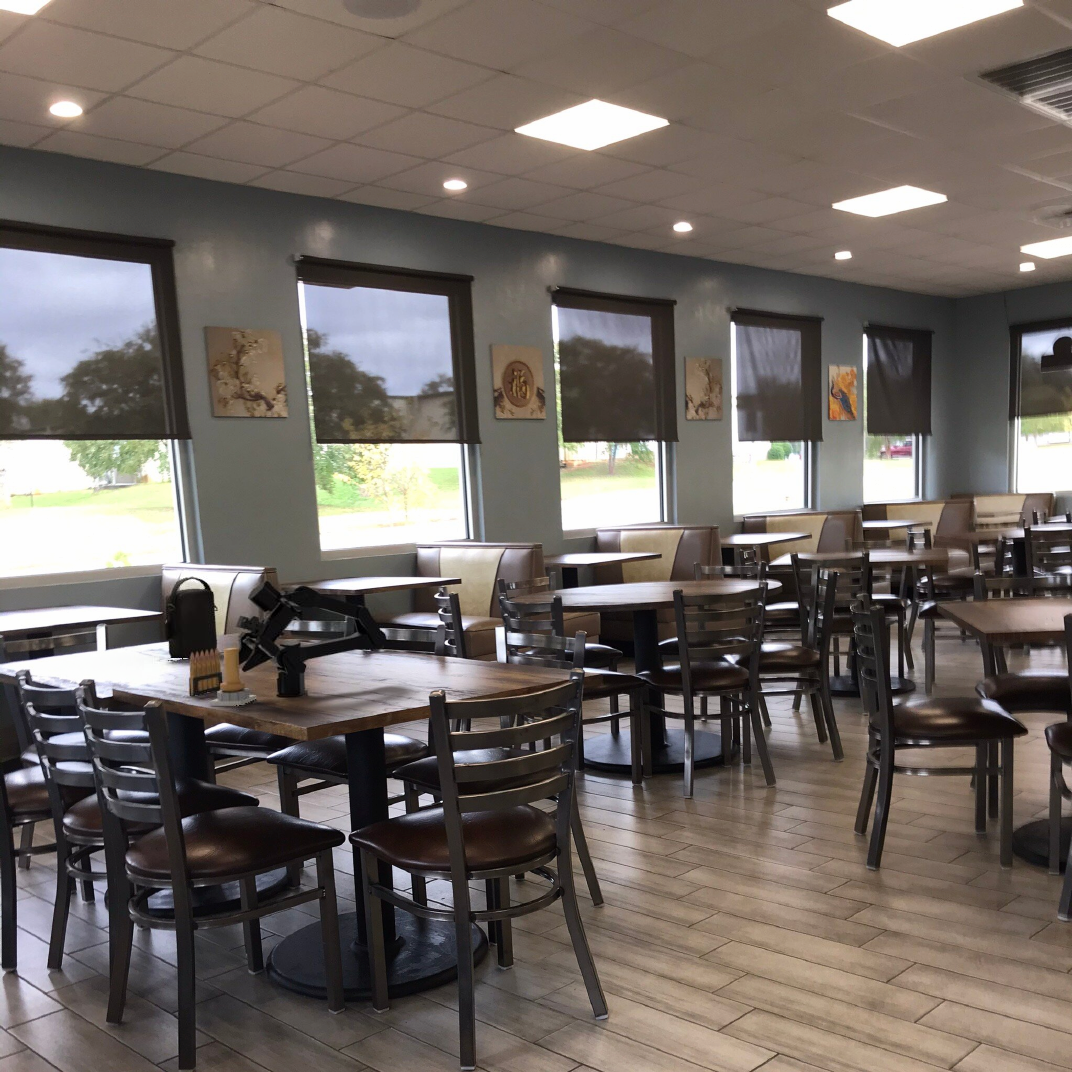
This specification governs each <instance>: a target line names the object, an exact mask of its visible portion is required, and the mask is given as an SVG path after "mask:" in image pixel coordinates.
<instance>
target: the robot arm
mask: <svg viewBox="0 0 1072 1072" xmlns="http://www.w3.org/2000/svg"><path fill="white" fill-rule="evenodd" d="M247 598H248V600H249V601H250V602H251V603H252V604H254V605H255V606H256V607H257V608H259V610H261V611H262V612H263V613H266V612H269V615H268V616H267V617H266V618H263V619H262V618H261V620H260V617H258V616H256V615H251V616H250V617H247V616H245V615H239V617H238V620H237V622H236V625H235V627H237V628H238V629H239V628H240V629H243V630H244V631H241V633H240V634H239V635H238V636H237V638H238V639H237V641H238V646H239V647H238V654H239V666H240V665H242V664H243V666H242V668H241V671H242V672H243V673H246V672H249V671H250V670H252V669H254V668H256V667H258V666H260V665H262V664H263V663H266V662H268V661H270V662H271V664H272V665H274V666H275V667H276V669H277V670H276V671H278V672H277V678H276V690H277V693H276V697H300V696H302V695H305V694H307V693H308V690H306V684H305V683H306V682H305V680H306V679H305V672H306V669H307V664H306V663H305V662H307V661H309V660H312V659H318V658H322V657H327V656H332V655H337V654H342V653H347V652H351V651H379V650H382V649H384V647H385V646H386V644H387V635H386V633H385V631H383V630H382V629H381V628H380V626H379V623H377V622H376V620H375V619H374V617H373V616H372V615H371V614H372V613H370V611H369V609H368V607H366V606H363V605H357V604H353V603H350V602H346V601H342V600H340V599H336V598H332V597H330V596H326V595H324V594H322V593H321V592H318V591H317V590H315V589H313V588H311V587H309V586H307V585H301V584H293V585H291V586H290V587H289V588H288V589H287V590H283V591H278V590H277V589H276V588H275V587H274V586H273V585H272V583H271V582H270V581H269V580H263V582H262V583H260V584H259V585H257V586H256V587H254V588H253V589H252V590H251V591H250V593H249V594H248V597H247ZM284 601H286V602H287V603H289V604H286V603H284ZM294 606H296V607H302V608H310V609H311V608H312V609H321V610H324V611H327V612H330V613H331V612H332V613H335V614H338V615H341V616H346V617H349V618H352V619H353V622H354V625H355V629H356V632H354V633H353V634H351V635H349V636H344V637H340V638H339V637H338V638H334V639H327V640H324V641H323V640H322V641H319V642H314V643H309V644H303V645H302V644H301V642H300V641H296V640H289V641H287V642H278V645H277V644H276V643H275V642H276V641H277V640H278V639H279V637H283V636H284V635H285V633H284V631H285V630H286V629H287V628H288V627H289V626H290V624H291V623H292V622H293V621H294V619H295V620H297V621H301V622H303V621H304V616H303V612H304V611H303V610H300V609H299V610H297V609H296V608H295V607H294ZM245 630H246V631H245ZM306 692H307V693H306Z"/></svg>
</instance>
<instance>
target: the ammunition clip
mask: <svg viewBox="0 0 1072 1072" xmlns="http://www.w3.org/2000/svg"><path fill="white" fill-rule="evenodd" d="M218 651H219V649H218V647H217V648H216V650H215V653H214V652H213V649H211V651H210V655H209V653H208V650H206V653H205V656H204V653H203V651H201V654H200V657H199V653H198V652H196V656H195V658H194V654H193V652H192V653H191V658H190V659H189V662H190V665H189V677H188V681H189V683H188V684H189V685H188V689H189V694H188V695H190V697H196V696H195V695H198V696H201V695H200V694H202V695H205V694H204V693H207V692H211V693H213V692H212V691H215V692H217V690H220V684H221V683H224V681H223V672H222V671H221V661H220V660H221V659H220V653H219V652H218ZM207 694H208V693H207Z"/></svg>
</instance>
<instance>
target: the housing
mask: <svg viewBox="0 0 1072 1072" xmlns="http://www.w3.org/2000/svg"><path fill="white" fill-rule="evenodd" d="M216 694H217V697H216V698H215V699H213V700H210V701H209V702H210V703H209V705H210V707H240V706H239V705H242V706H244V705H246V704H245V703H247V704H249V703H251V702H250V701H252V700H254V699H256V700H257V695H256V694H250V688H248V687H246V688H244V689H241V690H240V691H239V692H231V693H226V691H222V690H219V691H216ZM254 701H255V700H254ZM248 702H249V703H248ZM252 702H253V701H252ZM236 705H237V706H236Z"/></svg>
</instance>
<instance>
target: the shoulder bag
mask: <svg viewBox="0 0 1072 1072" xmlns="http://www.w3.org/2000/svg"><path fill="white" fill-rule="evenodd" d="M189 580H196V581H198V582H199V583H200V584H201V585H203V588H185V589H180V590H179V588H180V587H181V585H184V583H185V582H187V581H189ZM218 611H219V610H218V607H217V605H216V603H215V594H214V592H213V590H212V589H211V586H210V585H209V583H208V582H206V581H205V580H204V579H201V578H200V577H199V578H198V577H194V576H190V577H184V578H181V579H179V580H177V581H176V582H175V583H174V585H173V586H172V589H171V593H168V595H166V596H165V622H164V638H165V641H168V653H169V655H170V658H182V659H183V658H191V653H192V652H193V654H194V657H195V656H196V652H198V653H199V657H200V654H201V651H203V653H204V657H205V653H206V650H208V653H209V656H210V651H211V649H213V652H214V654H215V650H216V648H217V649H218V638H217V627H216V625H217V624H216V612H218ZM218 652H219V654H220V653H224V650H218ZM158 660H159V662H161V661H160V660H161V659H157V661H158Z"/></svg>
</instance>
